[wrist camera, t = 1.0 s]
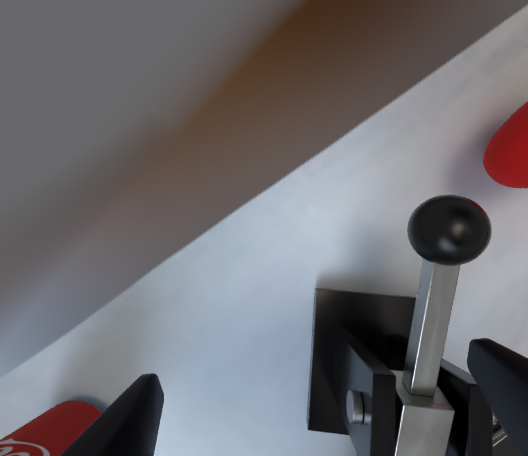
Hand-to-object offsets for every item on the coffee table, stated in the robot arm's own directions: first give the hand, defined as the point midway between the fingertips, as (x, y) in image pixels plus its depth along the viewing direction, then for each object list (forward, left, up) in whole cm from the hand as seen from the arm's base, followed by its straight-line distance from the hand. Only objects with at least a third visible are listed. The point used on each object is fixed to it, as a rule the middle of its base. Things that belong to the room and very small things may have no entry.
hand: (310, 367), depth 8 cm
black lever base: (-2, -7, -15) cm, 17 cm away
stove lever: (+3, -5, -7) cm, 9 cm away
